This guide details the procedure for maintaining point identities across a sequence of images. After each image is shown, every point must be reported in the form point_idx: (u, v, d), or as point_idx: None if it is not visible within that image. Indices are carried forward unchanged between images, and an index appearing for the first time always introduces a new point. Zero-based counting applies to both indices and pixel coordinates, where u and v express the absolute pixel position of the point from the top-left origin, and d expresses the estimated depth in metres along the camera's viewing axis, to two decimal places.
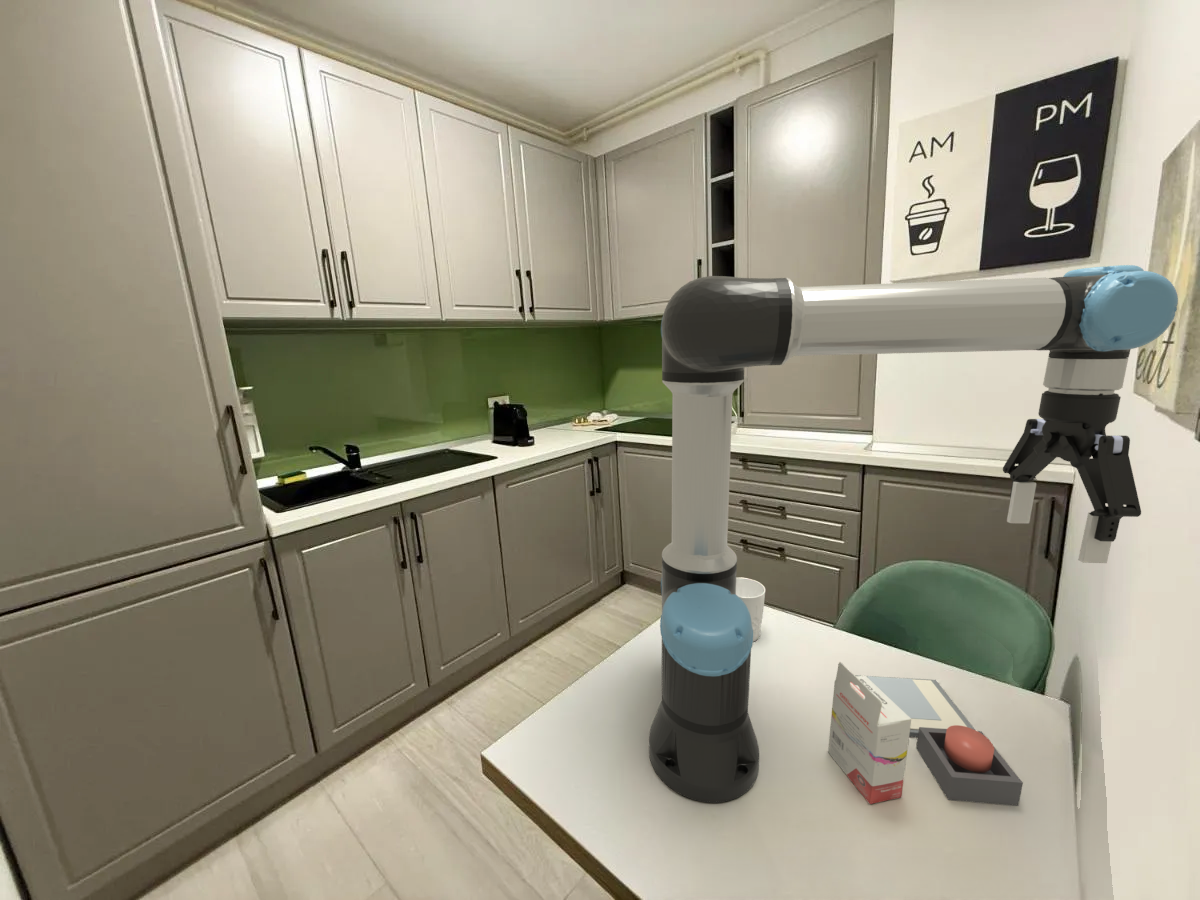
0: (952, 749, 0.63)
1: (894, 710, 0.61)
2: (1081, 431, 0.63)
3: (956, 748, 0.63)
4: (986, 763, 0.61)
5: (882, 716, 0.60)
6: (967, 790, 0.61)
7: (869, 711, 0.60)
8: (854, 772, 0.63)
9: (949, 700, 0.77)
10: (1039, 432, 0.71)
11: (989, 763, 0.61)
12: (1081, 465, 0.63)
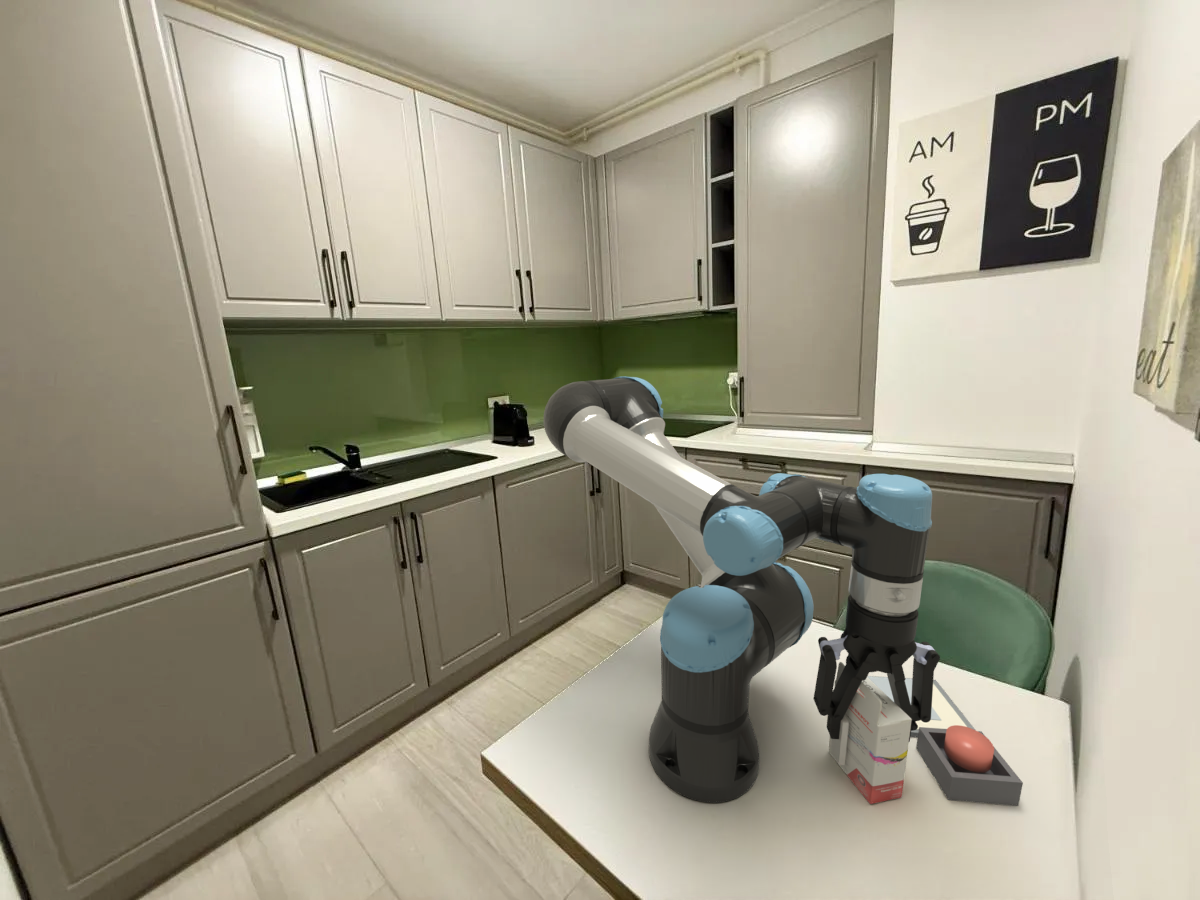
0: (952, 749, 0.63)
1: (894, 710, 0.61)
2: None
3: (956, 748, 0.63)
4: (986, 763, 0.61)
5: (883, 716, 0.60)
6: (967, 790, 0.61)
7: (869, 711, 0.60)
8: (854, 772, 0.63)
9: (949, 700, 0.77)
10: (913, 653, 0.61)
11: (989, 763, 0.61)
12: None
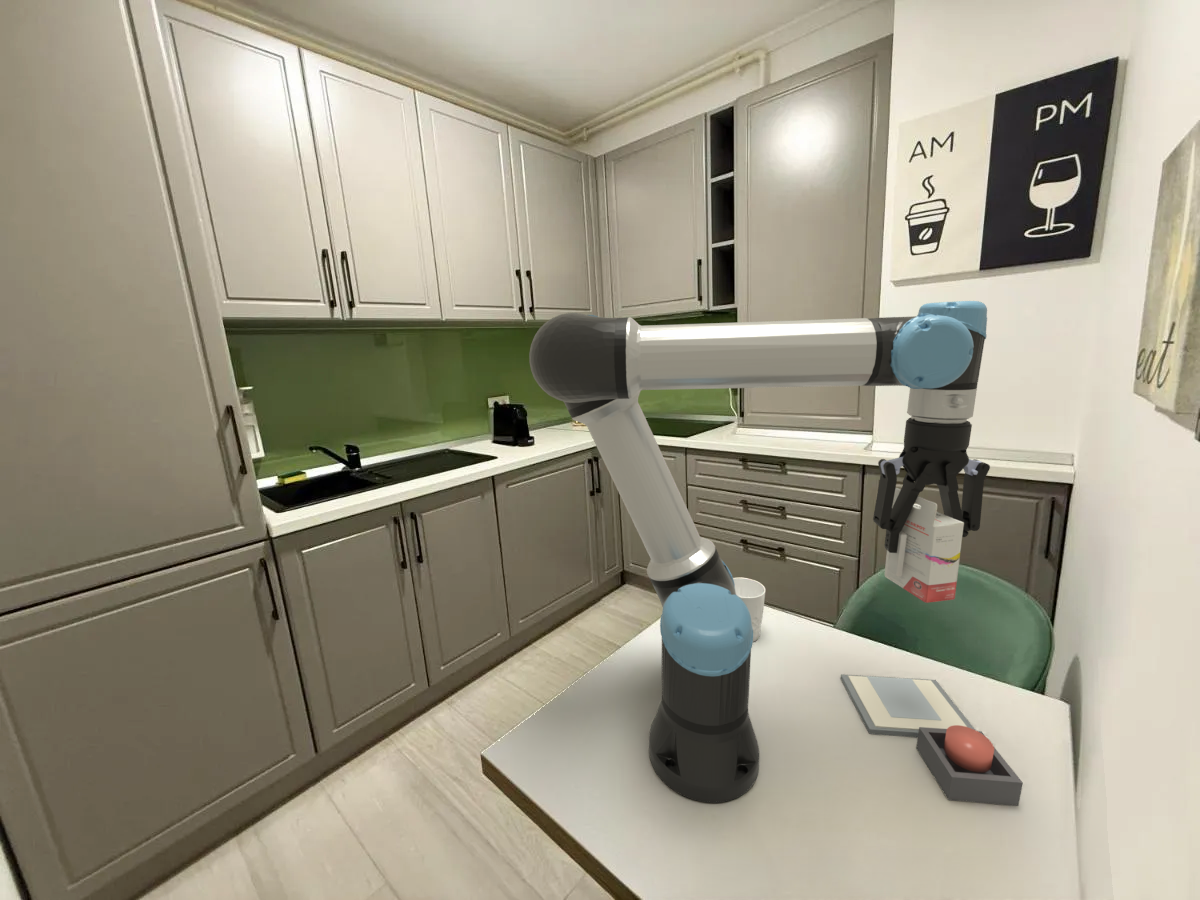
0: (952, 749, 0.63)
1: (947, 518, 0.68)
2: None
3: (956, 748, 0.63)
4: (986, 763, 0.61)
5: (937, 521, 0.67)
6: (967, 790, 0.61)
7: (925, 517, 0.67)
8: (910, 581, 0.71)
9: (949, 700, 0.77)
10: (964, 469, 0.69)
11: (989, 763, 0.61)
12: None
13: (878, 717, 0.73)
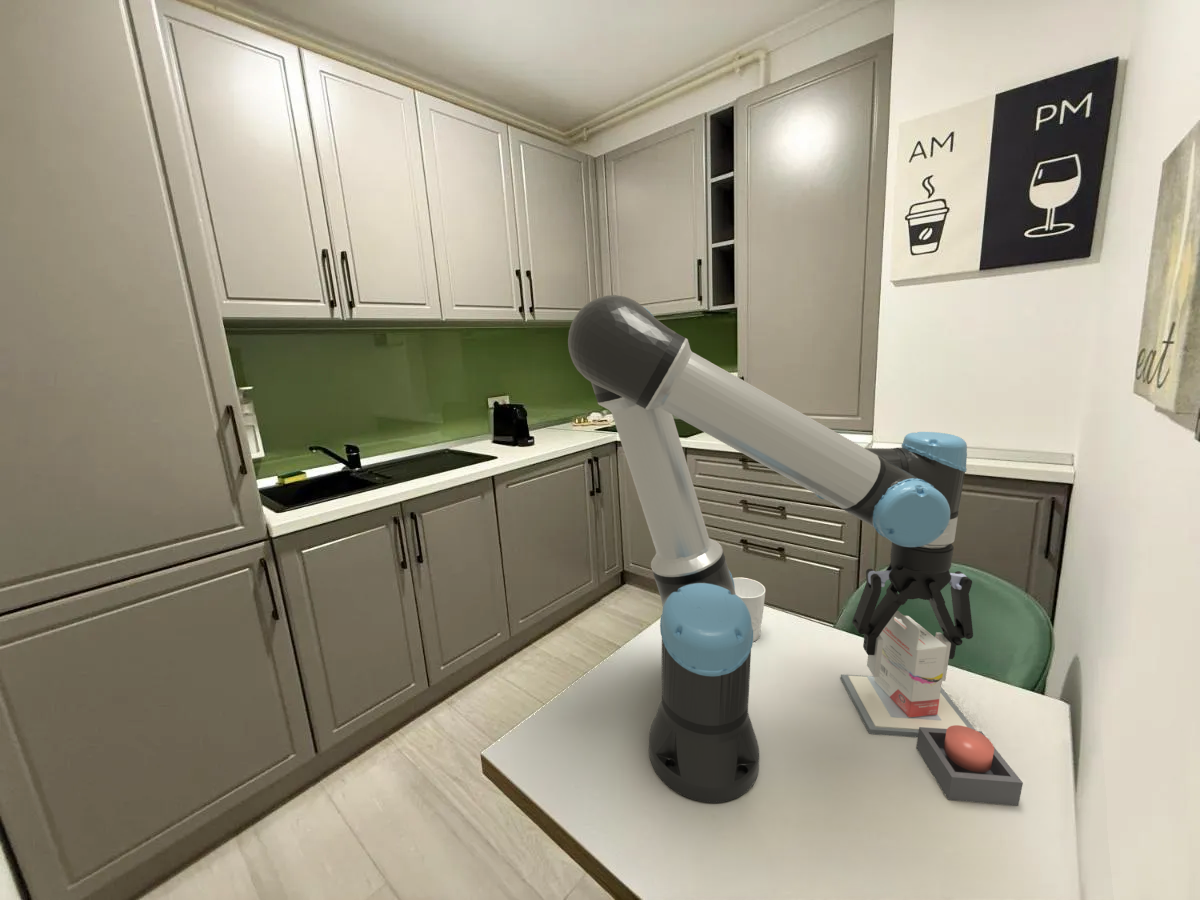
0: (952, 749, 0.63)
1: (932, 639, 0.72)
2: None
3: (956, 748, 0.63)
4: (986, 763, 0.61)
5: (921, 643, 0.72)
6: (967, 790, 0.61)
7: (910, 638, 0.72)
8: (896, 693, 0.75)
9: (949, 700, 0.77)
10: (949, 582, 0.73)
11: (989, 763, 0.61)
12: None
13: (878, 717, 0.73)
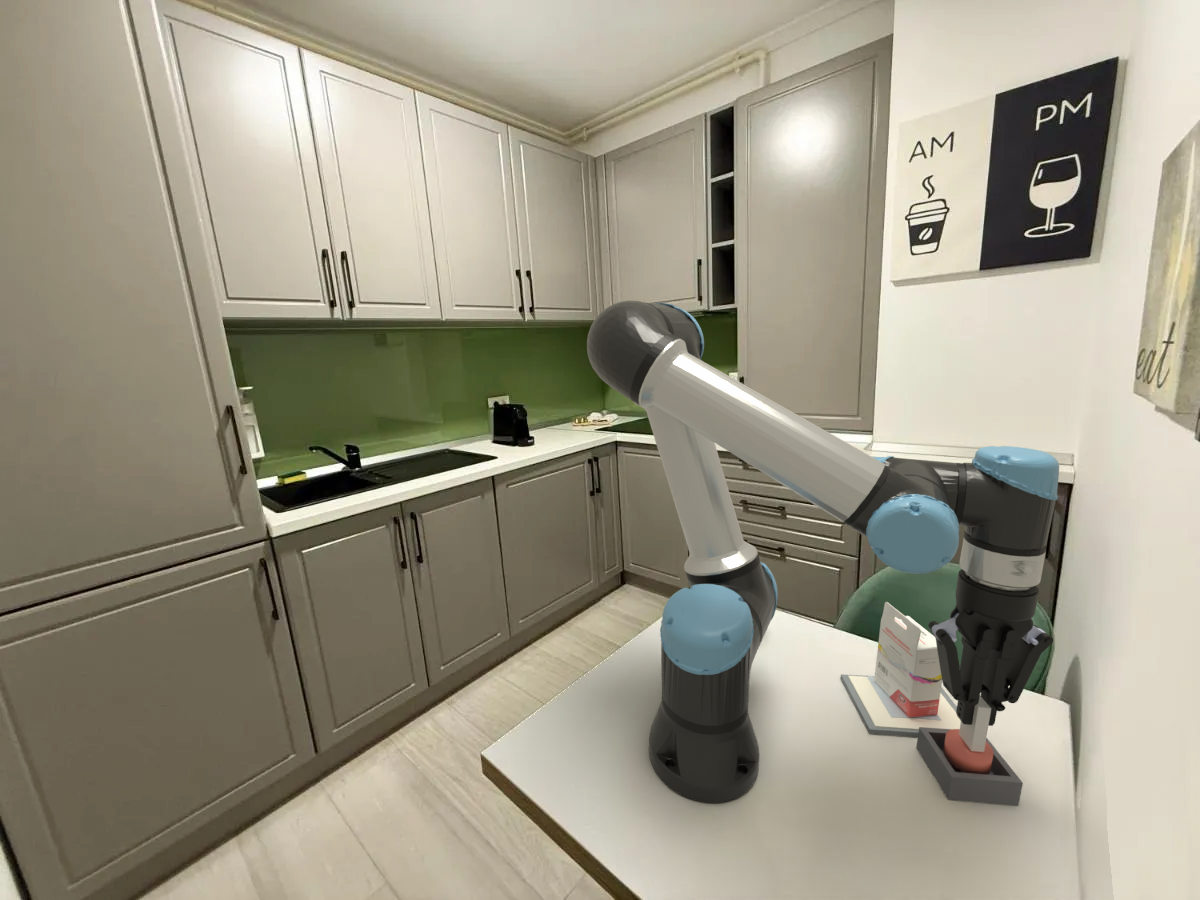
0: (951, 753, 0.63)
1: (932, 639, 0.72)
2: None
3: (955, 752, 0.63)
4: (985, 767, 0.61)
5: (922, 643, 0.72)
6: (967, 790, 0.61)
7: (910, 638, 0.72)
8: (896, 693, 0.75)
9: (949, 700, 0.77)
10: None
11: (988, 767, 0.62)
12: None
13: (878, 717, 0.73)
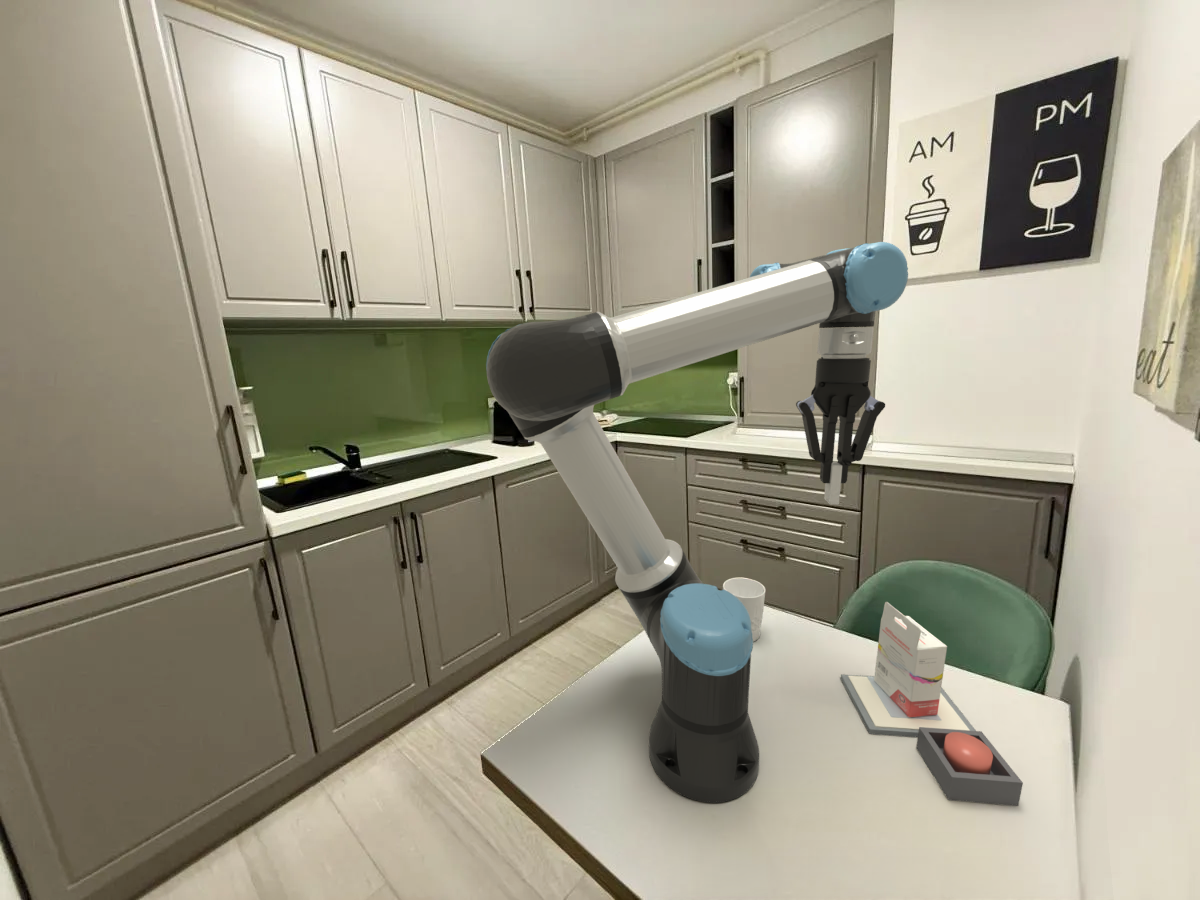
0: (951, 756, 0.63)
1: (932, 639, 0.72)
2: None
3: (955, 755, 0.63)
4: (985, 770, 0.61)
5: (922, 643, 0.72)
6: (967, 790, 0.61)
7: (910, 638, 0.72)
8: (896, 693, 0.75)
9: (949, 700, 0.77)
10: (865, 405, 0.77)
11: (988, 770, 0.62)
12: None
13: (878, 717, 0.73)
